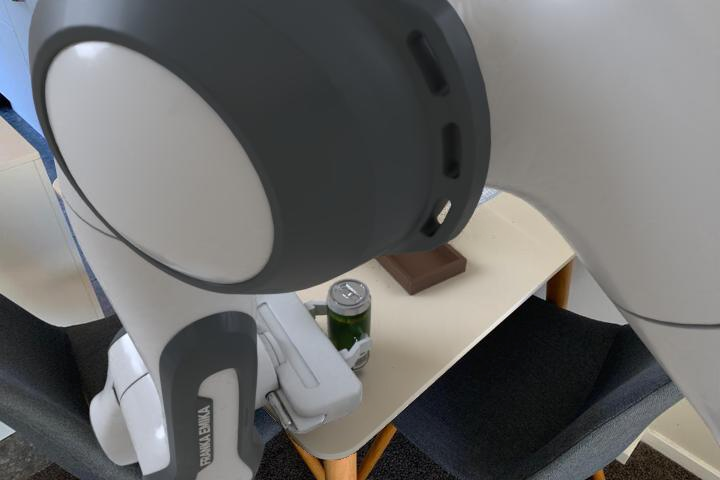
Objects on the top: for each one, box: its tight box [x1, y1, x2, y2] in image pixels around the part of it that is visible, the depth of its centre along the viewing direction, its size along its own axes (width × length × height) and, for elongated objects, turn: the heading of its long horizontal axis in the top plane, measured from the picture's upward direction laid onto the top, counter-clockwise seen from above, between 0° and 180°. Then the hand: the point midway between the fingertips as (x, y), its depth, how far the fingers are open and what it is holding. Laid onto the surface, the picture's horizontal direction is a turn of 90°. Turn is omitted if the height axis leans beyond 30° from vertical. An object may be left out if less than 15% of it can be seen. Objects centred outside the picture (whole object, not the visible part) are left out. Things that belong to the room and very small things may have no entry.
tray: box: [374, 242, 468, 297], centre depth 89 cm, size 30×11×2 cm, turn 31°
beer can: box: [325, 278, 372, 373], centre depth 65 cm, size 5×5×12 cm
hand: (354, 321), depth 65 cm, fingers closed on beer can, 5 cm apart
